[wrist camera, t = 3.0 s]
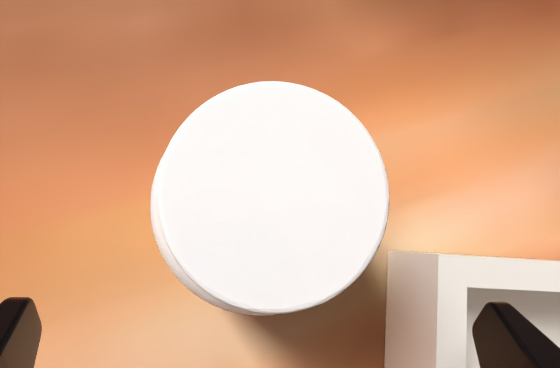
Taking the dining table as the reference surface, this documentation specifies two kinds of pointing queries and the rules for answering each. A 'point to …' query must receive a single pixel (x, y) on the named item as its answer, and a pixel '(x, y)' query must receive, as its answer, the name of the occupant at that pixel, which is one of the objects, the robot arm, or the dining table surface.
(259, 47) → the dining table surface
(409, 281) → the tote
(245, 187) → the pill bottle
